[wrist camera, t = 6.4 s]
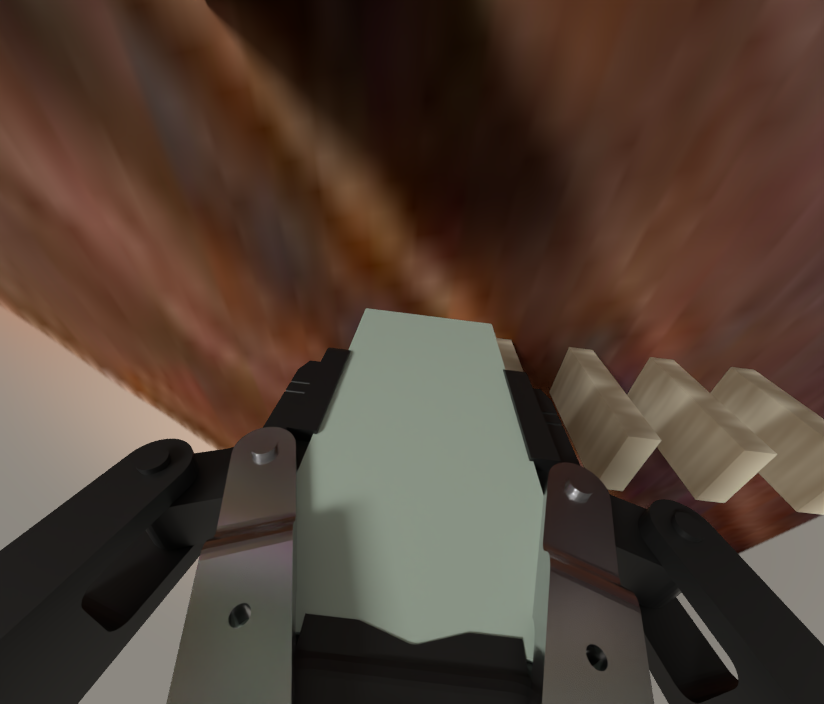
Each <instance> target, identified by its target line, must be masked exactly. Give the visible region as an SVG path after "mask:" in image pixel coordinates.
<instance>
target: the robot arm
mask: <svg viewBox="0 0 824 704" xmlns="http://www.w3.org/2000/svg"><path fill="white" fill-rule="evenodd" d="M350 352H351V350H345V349H336V348H328V349H327V351H326V353H325V355H324V356H323V358H322V360H321V362H317V361H309V362H308V363H306V364H305V365H304V366H302V367H301V368H299V369H298V371H297V372H296V374H295V375H294V377H293V379H292V382H291V383H290V384H289V385H288V387H287V389H286V392H284V394H283V395H282V397H281V399H280V400H279V402H278V404H277V405H276V407H275V409H274V410H273V412H272V413H271V415H270V417H269V418H268V420H267V422H266V423H265V425H264V427H263V428H260V429H257V430H254V431H252V432H250V433H248V434H247V435H245V436H244V437H242V438H241V439H240V440H239V441H238V442H237V444H236V445H235V446H234V447H232V448H228V449H223V450H215V451H208V452H202V453H194V452H193V450H192V448H191V446H190V445H189V444H188V443H187V442H185V441H183V440H179V439H164V440H158V441H154V442H151V443H149V444H146V445H144V446H142V447H140V448H138V449H136V450H135V451H133V452H132V453H130V454H129V455H128V456H126V457H125V458H124V459H122V460H121V461H120V462H118V463H117V464H116V465H114V466H113V467H112V468H110V469H109V470H108V471H106V472H105V473H104V474H102V475H101V476H99V477H98V478H97V479H96V480H94V481H93V482H92V483H90V484H89V485H87V486H86V487H85V488H83V489H82V490H81V491H79V492H78V493H77V494H75V495H74V496H73V497H72V498H70V499H69V500H67V501H66V502H65V503H63V504H62V505H61V506H59V507H58V508H57V509H56V510H54V511H53V512H51V513H50V514H49V515H47V516H46V517H45V518H43V519H42V520H41V521H40V522H38V523H37V524H35V525H34V526H33V527H31V528H30V529H29V530H28V531H26V532H25V533H23V534H22V535H21V536H19V537H18V538H17V539H15V540H14V541H13V542H11V543H10V544H9V545H7V546H6V547H5V548H3V549H2V550H1V551H0V704H78V703H79V701H80V700H81V699H82V698H83V697H84V695H85V694H86V693H87V692H88V690H89V689H90V688H91V687H92V686H93V685H94V683H95V682H96V681H97V680H98V678H99V677H100V676H101V675H102V674H103V672H104V671H105V670H106V669H107V667H108V666H109V665H110V664H111V663H112V661H113V660H114V659H115V658H116V657H117V655H118V654H119V653H120V652H121V650H122V649H123V648H124V647H125V646H126V644H127V643H128V642H129V641H130V640H131V638H132V637H133V636H134V635H135V634H136V632H137V631H138V630H139V629H140V627H141V626H142V625H143V624H144V623H145V621H146V620H147V619H148V618H149V617H150V615H151V614H152V613H153V612H154V610H155V609H156V608H157V607H158V606H159V604H160V603H161V602H162V601H163V600H164V598H165V597H166V596H167V594H168V593H169V592H170V591H171V590H172V589H173V587H174V586H175V585H176V584H177V583H178V581H179V580H180V579H181V578H182V576H183V575H184V574H185V573H186V571H187V570H188V569H189V568H190V567H191V566H192V564H193V563H194V562H195V561H196V559H197V558H198V557H199V556H200V557H199V561H198V565H197V570H196V574H195V578H194V583H193V587H192V592H191V596H190V601H189V605H188V610H187V614H186V618H185V623H184V627H183V632H182V636H181V641H180V645H179V650H178V654H177V659H176V663H175V667H174V672H173V677H172V681H171V686H170V690H169V694H168V699H167V704H654V699H653V693H652V686H651V679H650V672H649V670H650V671H651V673H652V675H653V677H654V679H655V680H656V682H657V684H658V686H659V687H660V689H661V691H662V693H663V694H664V696H665V698H666V699H667V701H668V703H669V704H824V646H823V644H822V643H821V642H820V641H819V640H818V639H817V638H816V637H815V636H814V635H813V634H812V633H811V632H810V630H809V629H808V628H807V627H806V626H805V625H804V624H803V623H802V622H801V621H800V620H799V619H798V618H797V617H796V616H795V615H794V613H793V612H792V611H791V610H790V609H789V608H788V607H787V606H786V605H785V604H784V603H783V602H782V601H781V600H780V599H779V597H778V596H777V595H776V594H775V593H774V592H773V591H772V590H771V589H770V588H769V587H768V586H767V585H766V583H765V582H764V581H763V580H762V579H761V578H760V577H759V576H758V575H757V574H756V573H755V572H754V571H753V570H752V568H751V567H749V565H748V564H747V563H746V562H745V561H744V560H743V559H742V558H741V557H740V556H739V555H738V554H737V552H736V551H735V550H734V549H733V548H732V547H731V546H730V545H729V544H728V543H727V542H726V541H725V540H724V539H723V537H722V536H721V535H720V534H719V533H718V532H717V531H716V530H715V529H714V528H713V527H712V526H711V525H710V524H709V523H708V522H707V521H706V520H705V519H704V518H703V517H702V516H700V515H699V514H698V513H696V512H695V511H693V510H692V509H690V508H688V507H686V506H684V505H682V504H680V503H678V502H675V501H671V500H657V501H655V502H653V503H652V505H651V506H650V507H649V508H648V509H645V508H642V507H640V506H637V505H635V504H632V503H629V502H627V501H624V500H622V499H619V498H617V497H615V496H612V495H610V494H609V492H608V490H607V488H606V486H605V485H604V484H603V482H602V481H601V480H600V479H599V478H598V477H597V476H596V475H595V474H593V473H592V472H591V471H589V470H587V469H586V468H584V467H582V466H580V464H579V462H578V459H577V457H576V455H575V453H574V450H573V448H572V446H571V444H570V441H569V439H568V437H567V435H566V432H565V430H564V428H563V426H561V424H562V423H561V421H560V419H559V417H558V416H557V412H556V410H555V408H554V405H553V403H552V401H551V400H550V399H549V398H548V397H547V396H546V395H545V394H544V393H543V392H542V391H541V390H540V389H534V388H532V386H531V383H530V381H529V378H528V375H527V373H526V372H520V371H512V370H504V369H503V372H504V376H505V379H506V383H507V386H508V389H509V393H510V396H511V400H512V403H513V407H514V410H515V413H516V417H517V420H518V424H519V427H520V431H521V434H522V437H523V441H524V444H525V448H526V451H527V455H528V458H529V461H533V462H534V465H535V469H536V472H537V475H538V479H539V482H540V485H541V489H542V492H543V495H544V498H543V509H542V519H541V530H540V541H539V551H538V562H537V573H536V583H535V594H534V605H533V615H532V618H533V621H534V628H535V640H534V653H533V663H530V662H527V661H526V657H525V652H524V646H523V640H522V639H518V638H510V637H501V636H493V635H484V634H476V633H466V634H461V635H457V636H453V637H448V638H444V639H439V640H435V641H431V642H426V643H422V644H416V645H414V644H409V643H407V642H405V641H403V640H400V639H398V638H396V637H394V636H392V635H390V634H388V633H386V632H384V631H382V630H380V629H377V628H375V627H373V626H371V625H369V624H367V623H365V622H363V621H361V620H358V619H349V618H341V617H332V616H324V615H315V614H307V613H305V616H304V620H303V624H302V627H301V631H300V634H296V594H297V471H298V469H299V467H300V464H301V462H302V459H303V457H304V455H305V452H306V450H307V447H308V445H309V443H310V440H311V438H312V436H313V434H317V433H318V431H319V428H320V426H321V423H322V421H323V418H324V416H325V413H326V411H327V409H328V406H329V404H330V401H331V399H332V396H333V394H334V391H335V389H336V386H337V384H338V381H339V379H340V376H341V374H342V372H343V369H344V367H345V364H346V362H347V359H348V357H349V354H350ZM680 593H683V595H684V596H685V597H686V599H687V600H688V602H689V603H690V604H691V605H692V607H693V608H694V610H695V611H696V612H697V614H698V615H699V616H700V618H701V619H702V621H703V622H704V623H705V625H706V626H707V627H708V629H709V630H710V631H711V633H712V634H713V635H714V637H715V638H716V640H717V641H718V642H719V644H720V645H721V646H722V648H723V649H724V650H725V652H726V653H727V654H728V656H729V657H730V659H731V660H732V662H733V664H734V666H735V668H736V671H737V674H738V680H737V679H736V678H735V677H734V676H733V675H732V674H731V673H730V672H729V670H728V669H727V668H726V666H725V665H724V663H723V662H722V661H721V659H720V658H719V657H718V655H717V654H716V652H715V651H714V650H713V648H712V647H711V645H710V644H709V643H708V641H707V640H706V638H705V637H704V636H703V634H702V633H701V631H700V630H699V629H698V627H697V626H696V624H695V623H694V622H693V620H692V619H691V618H690V616H689V615H688V614H687V612H686V610H685V609H684V608H683V606H682V605H681V603H680V602H679V601H678V599H677V598H676V596H678V595H679V594H680ZM247 619H248V621H247V622H246V623H245V624H244V625H243V626H241V627H239V626H240V624H241V623H242V622H244V621H245V620H247ZM238 627H239V628H238Z"/></svg>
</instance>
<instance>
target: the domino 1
mask: <svg viewBox="0 0 824 704" xmlns="http://www.w3.org/2000/svg"><path fill="white" fill-rule="evenodd" d="M349 350H351V352H350V354H349V357H348V359H347V362H346V364H345V367H344V369H343V372H342V374H341V376H340V379H339V381H338V384H337V386H336V389H335V391H334V394H333V396H332V399H331V401H330V404H329V406H328V409H327V411H326V413H325V416H324V418H323V421H322V423H321V426H320V428H319V431H318V433H317V434H313V436H312V438H311V440H310V443H309V445H308V447H307V450H306V452H305V455H304V457H303V459H302V462H301V464H300V467H299V469H298V471H297V594H296V634H300V631H301V627H302V624H303V620H304V616H305V613H307V614H315V615H324V616H332V617H341V618H349V619H358V620H361V621H363V622H365V623H367V624H369V625H371V626H373V627H375V628H377V629H380V630H382V631H384V632H386V633H388V634H390V635H392V636H394V637H396V638H398V639H400V640H403V641H405V642H407V643H409V644H414V645H416V644H422V643H426V642H431V641H435V640H439V639H444V638H448V637H453V636H457V635H461V634H466V633H476V634H484V635H493V636H501V637H510V638H518V639H522V640H523V646H524V652H525V657H526V661H527V662H530V663H533V653H534V640H535V628H534V621H533V618H532V615H533V605H534V594H535V583H536V573H537V562H538V551H539V541H540V530H541V519H542V509H543V498H544V495H543V492H542V489H541V485H540V482H539V479H538V475H537V472H536V469H535V465H534V462H533V461H529V458H528V455H527V451H526V448H525V444H524V441H523V437H522V434H521V431H520V427H519V424H518V420H517V417H516V413H515V410H514V407H513V403H512V400H511V396H510V393H509V389H508V386H507V383H506V379H505V376H504V372H503V369H504V370H505V367H504V363H503V360H502V357H501V353H500V350H499V347H498V344H497V340H496V337H495V334H494V330H493V327H492V324H487V323H479V322H471V321H463V320H455V319H447V318H439V317H431V316H423V315H415V314H407V313H399V312H391V311H383V310H375V309H367V308H366V310H365V312H364V314H363V317H362V319H361V321H360V324H359V326H358V329H357V331H356V333H355V336H354V338H353V341H352V343H351V345H350V348H349ZM247 621H248V619H247V620H245V621H244V622H242V623H241V624H240V626H239V627H241V626H243V625H244V624H245V623H246V622H247ZM239 627H238V628H239Z"/></svg>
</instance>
